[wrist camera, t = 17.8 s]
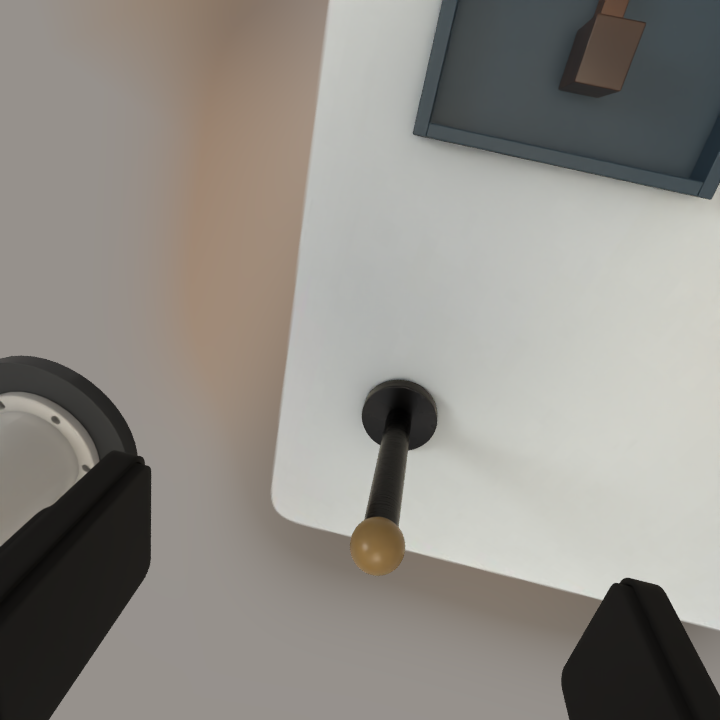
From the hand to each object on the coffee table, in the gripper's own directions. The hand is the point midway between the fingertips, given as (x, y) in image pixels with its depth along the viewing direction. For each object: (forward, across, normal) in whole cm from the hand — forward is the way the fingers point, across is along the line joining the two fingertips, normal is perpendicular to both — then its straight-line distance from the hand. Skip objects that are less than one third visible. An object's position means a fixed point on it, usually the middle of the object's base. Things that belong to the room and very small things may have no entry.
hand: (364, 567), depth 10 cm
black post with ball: (+27, -2, +12) cm, 30 cm away
